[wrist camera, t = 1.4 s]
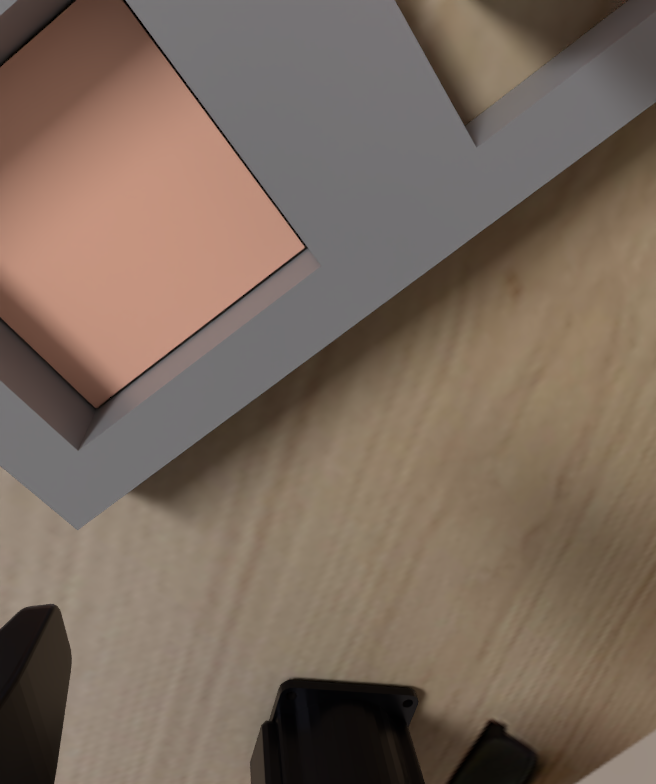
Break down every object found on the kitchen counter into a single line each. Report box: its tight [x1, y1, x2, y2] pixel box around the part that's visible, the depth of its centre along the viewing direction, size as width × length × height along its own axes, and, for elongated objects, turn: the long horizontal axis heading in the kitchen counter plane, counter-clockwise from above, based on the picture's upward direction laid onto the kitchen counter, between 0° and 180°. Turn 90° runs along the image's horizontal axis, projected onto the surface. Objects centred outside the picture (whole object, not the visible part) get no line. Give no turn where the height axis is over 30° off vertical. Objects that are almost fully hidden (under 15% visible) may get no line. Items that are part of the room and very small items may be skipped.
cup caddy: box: [0, 0, 656, 530], centre depth 16 cm, size 27×13×3 cm, turn 126°
